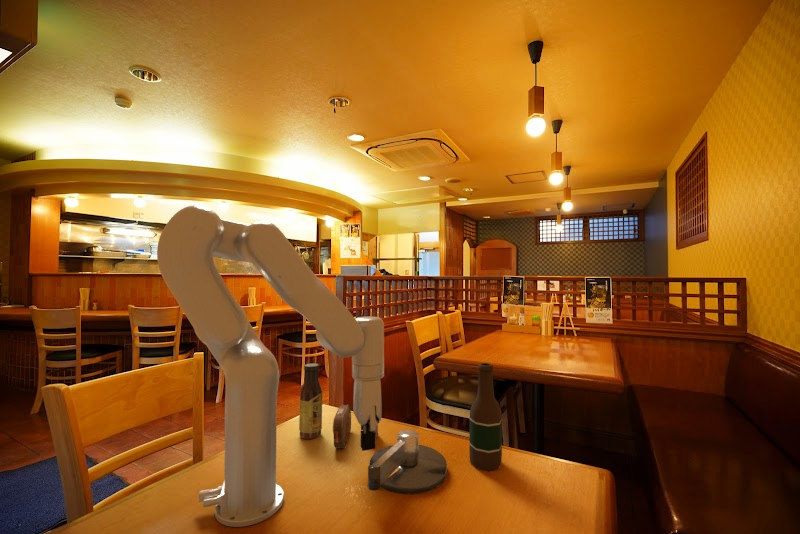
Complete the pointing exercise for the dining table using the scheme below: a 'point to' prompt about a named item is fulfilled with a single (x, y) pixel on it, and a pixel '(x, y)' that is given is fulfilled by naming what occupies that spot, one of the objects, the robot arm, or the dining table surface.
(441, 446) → the dining table surface
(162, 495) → the dining table surface
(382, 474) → the dial lever
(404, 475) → the dial plate
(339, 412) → the tin
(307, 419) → the sauce bottle
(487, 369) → the beer bottle
